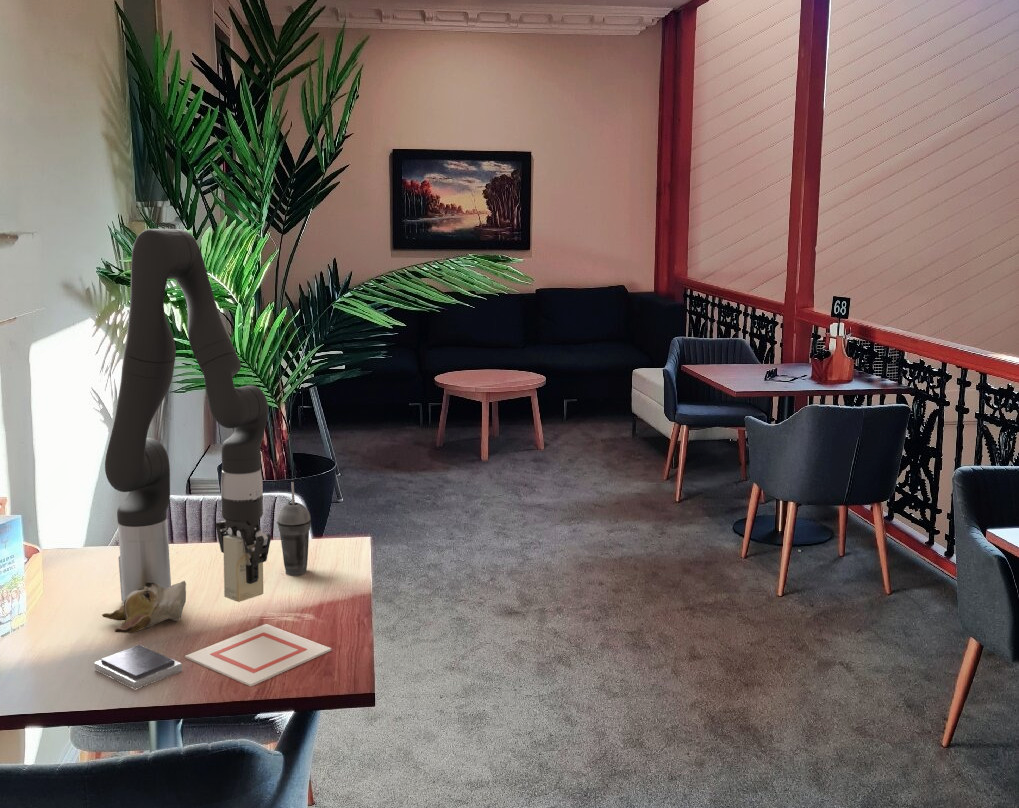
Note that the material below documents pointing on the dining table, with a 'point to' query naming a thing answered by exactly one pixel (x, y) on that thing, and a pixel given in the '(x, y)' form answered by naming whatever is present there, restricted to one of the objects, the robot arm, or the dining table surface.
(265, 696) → the dining table surface
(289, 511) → the beverage cup
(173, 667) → the ink pad
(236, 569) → the skincare box
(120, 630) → the ceramic sculpture
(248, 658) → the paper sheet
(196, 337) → the robot arm
